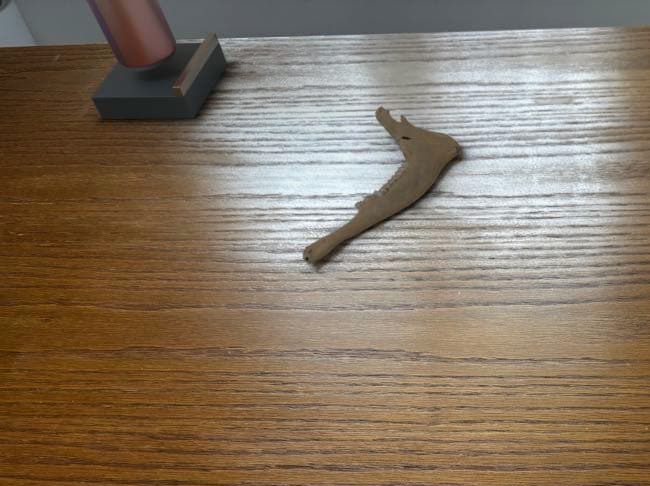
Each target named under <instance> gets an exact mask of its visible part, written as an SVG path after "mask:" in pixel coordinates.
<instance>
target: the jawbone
mask: <svg viewBox="0 0 650 486" xmlns="http://www.w3.org/2000/svg"><path fill="white" fill-rule="evenodd" d="M390 113H391V111H390V109H386V108H384V107H383V106H379V107H378V108H377V109H376V110H375V113H374V115H375V119H376V120H377V122H378V123H379V124H380V125H381V126H382V127H383V129H385V131H386V132H387V133H388V134H389V135H390V136H391V137H392V138H393V139H394V140H395V142H397V145H398V146H399V148H400V150H401V153H402V155H403V158H404V162H402V163H400V166H398V167H397V170H396V171H394V174H393V175H391V178H389V179H387V182H385V183H383V184H382V186H381V187H380V188H379V189H378V190H377V189H375V190H374V191H373V193H372V194H369V195H366V196H364V198H363V200H359V201H356V202H355V203H354V208H355V209H357V210H358V211H357V213H356V215H354V216H353V217H352V218H351V219H350V220H349V221H348V222H346V223H345V224H343V225H342V226H341V227H339V228H337V229H336V230H334V231H333V232H330V233H328V234H327V235H325V236H323V237H320V239H317V240H316V241H314V242H312V243H311V244H309V245H306V246H305V248H304V250H302V259H303V260H304V261H305V263H306V266H308V265H310V264H312V263H314V262H317V261H319V260H320V259H322V258H324V257H325V256H327V255H328V254H329V253H330V252H332V250H334V249H335V247H338V245H339V244H341V243H342V242H343V241H346V240H347V239H350V238H352V237H354V236H356V235H357V234H359V233H362V232H363V231H365V230H367V229H368V228H370V227H372V226H374V225H376V224H378V223H381V222H382V221H383V220H386V219H388V218H389V217H391V216H393V215H394V214H395V215H396V214H397V213H398V212H400V211H402V210H403V209H405V208H407V207H409V206H410V205H412V204H413V203H415V202H417V201H418V200H419V199H420V198H422V197H423V196H424V194H425V193H426V192H428V190H429V189H430V188H431V187H432V185H433V184H434V183H435V182H436V180H437V178H438V177H439V174H440V173H441V171H442V170H443V168H444V167H445V166H446V165H447V164H448V163H449V162H451V160H453V159H454V158H455V157H457V156H458V154H459V153H460V144H459V141H457V140H456V139H455V138H454V137H453V136H450V135H448V134H447V133H444V132H440V131H439V132H438V131H432V130H427V129H423V128H420V127H417V126H415V125H414V124H412V123H411V122H409V120H408V119H407V118H406V116H405V115H403V114H400V121H398V120H396V119H394V118H393V116H391V114H390Z"/></svg>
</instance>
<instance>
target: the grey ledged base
mask: <svg viewBox="0 0 650 486" xmlns="http://www.w3.org/2000/svg"><path fill="white" fill-rule="evenodd" d="M176 43H177V46H176V53H175V55H174V57H173V58H172V59H171V60H170V61H169V62H167V63H166V64H164V65H162V66H160V67H158V68H155V69H152V70H147V71H132V70H129V69H127V68H125V67H124V66H122V65H121V64H120V63H119V62H118V61H117V63H116V64H115V65H114V67H112V69H111V71H109V73H108V74H107V76H106V77H105V78H104V80H102V82H101V83H100V85H99V86H98V87H97V88H96V90H95V91H94V92H93V94H92V95H91V96H90V99H91V100H92V102H93V104H94V106H95V108H96V109H97V112H98V113H99V115H100V117H101V118H102V119H103V120H154V119H155V120H168V119H172V120H173V119H174V120H175V119H176V120H177V119H179V120H180V119H183V120H185V119H186V120H187V119H188V120H189V119H195V118H196V117H197V115H198V113H199V112H200V110H201V109H202V107H203V105H204V103H205V102H206V100H207V99H208V97H209V96H210V94H211V92H212V91H213V89H214V87H215V86H216V84H218V83H217V82H218V81H219V79H220V78H221V76H222V74H223V73H224V71H225V70H226V68H227V66H228V65H229V64H228V61H227V59H226V56H225V53H224V51H223V48H222V46H221V44H220V41H219V39H218V36H217V33H216V32H214V33H213V32H209V33H207V34H206V36H205V38H204V39H203V41H202V42H176Z"/></svg>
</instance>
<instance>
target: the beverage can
mask: <svg viewBox="0 0 650 486" xmlns="http://www.w3.org/2000/svg"><path fill="white" fill-rule="evenodd" d="M86 3H87V5H88V6H89V8H90V10H91V12H92V14H93V16H94V18H95V20H96V22H97V24H98V26H99V28H100V29H101V31H102V33H103V36H104V38H105V39H106V41H107V43H108V45H109V48H110V49H111V51H112V53H113V55H114V57H115V59H116V61H117V63H118V62H119V63H120V64H121V65H122V66H124V67H125V68H127V69H129V70H132V71H147V70H152V69H155V68H158V67H160V66H162V65H164V64H166V63H167V62H169V61H170V60H171V59H172V58H173V57H174V55H175V53H176V46H177V43H178V42H177V40H176V38H175V36H174V34H173V31H172V29H171V27H170V25H169V22H168V20H167V18H166V16H165V14H164V11H163V9H162V7H161V5H160V2H159V0H86Z"/></svg>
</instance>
